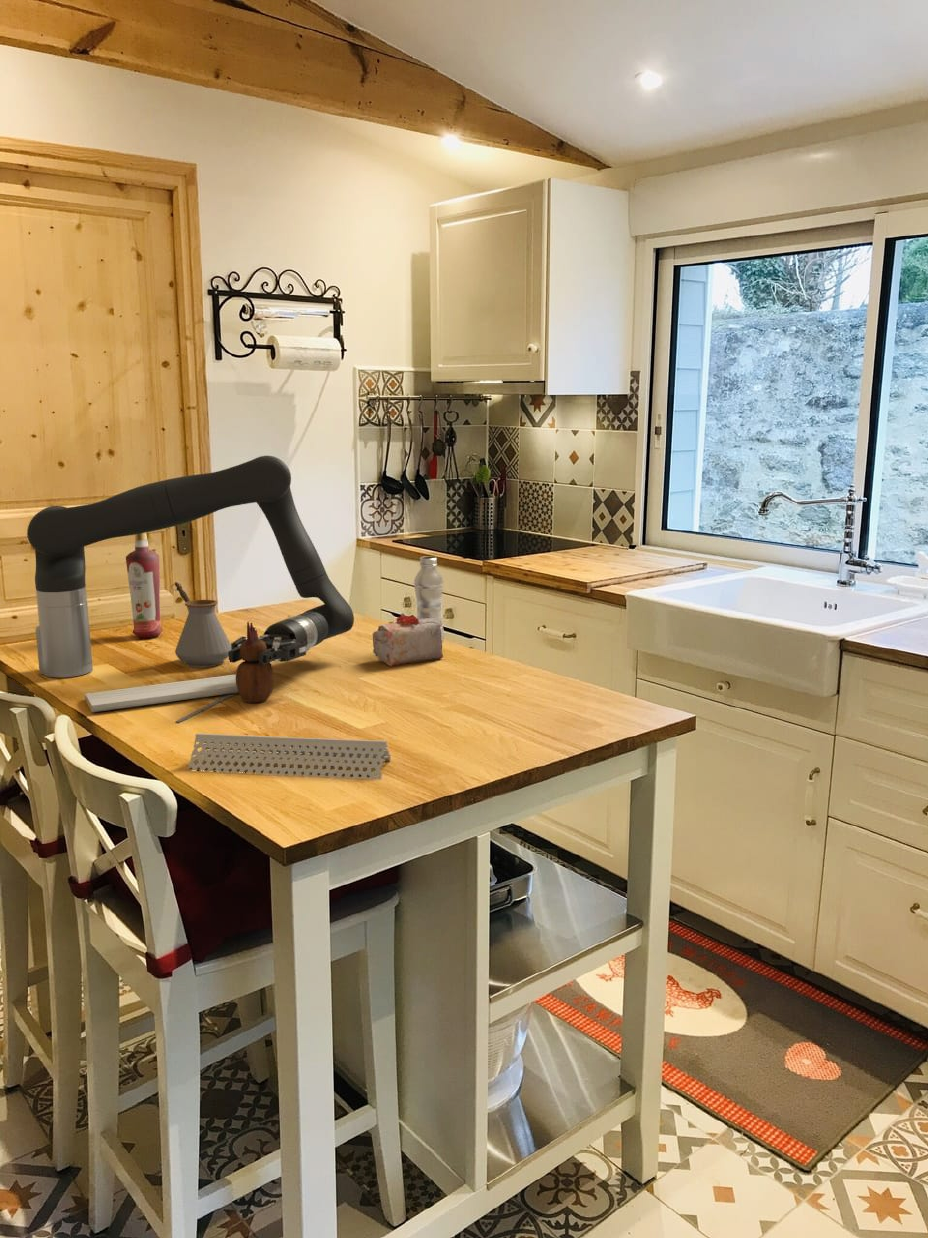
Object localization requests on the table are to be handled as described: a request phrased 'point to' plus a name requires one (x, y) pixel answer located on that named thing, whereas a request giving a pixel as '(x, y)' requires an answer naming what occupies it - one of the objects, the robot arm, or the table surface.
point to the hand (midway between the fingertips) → (246, 658)
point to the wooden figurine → (253, 670)
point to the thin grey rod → (206, 707)
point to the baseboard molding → (161, 693)
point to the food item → (408, 641)
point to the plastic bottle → (429, 591)
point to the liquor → (144, 589)
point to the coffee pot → (201, 634)
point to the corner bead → (290, 755)
